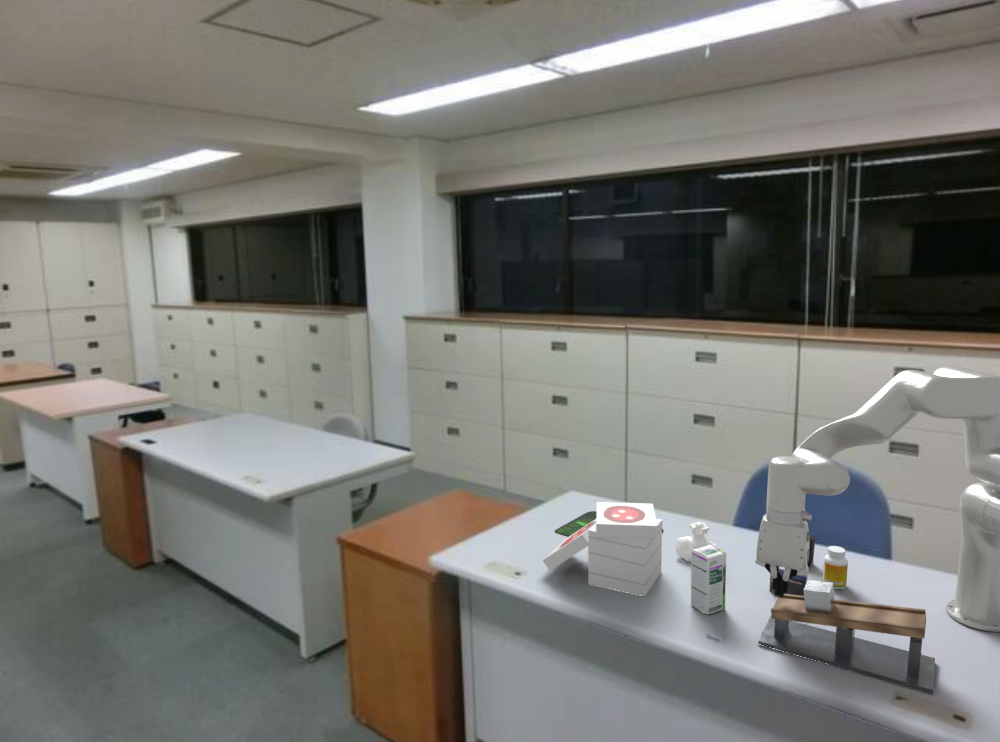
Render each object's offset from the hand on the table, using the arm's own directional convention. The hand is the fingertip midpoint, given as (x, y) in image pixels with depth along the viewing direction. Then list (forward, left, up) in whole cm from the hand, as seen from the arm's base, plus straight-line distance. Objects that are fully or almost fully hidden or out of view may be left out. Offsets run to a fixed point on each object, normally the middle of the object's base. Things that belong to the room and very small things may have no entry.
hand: (779, 594), depth 149 cm
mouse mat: (+56, -33, -11) cm, 66 cm away
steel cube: (-8, 0, -1) cm, 8 cm away
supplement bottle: (-7, -31, -10) cm, 34 cm away
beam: (-13, 0, -2) cm, 13 cm away
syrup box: (+17, -4, -10) cm, 20 cm away
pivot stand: (-13, 0, -10) cm, 17 cm away
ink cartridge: (+2, -40, -10) cm, 41 cm away
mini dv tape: (+2, -20, -10) cm, 23 cm away
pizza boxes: (+45, -7, -10) cm, 46 cm away
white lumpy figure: (+27, -28, -10) cm, 40 cm away
